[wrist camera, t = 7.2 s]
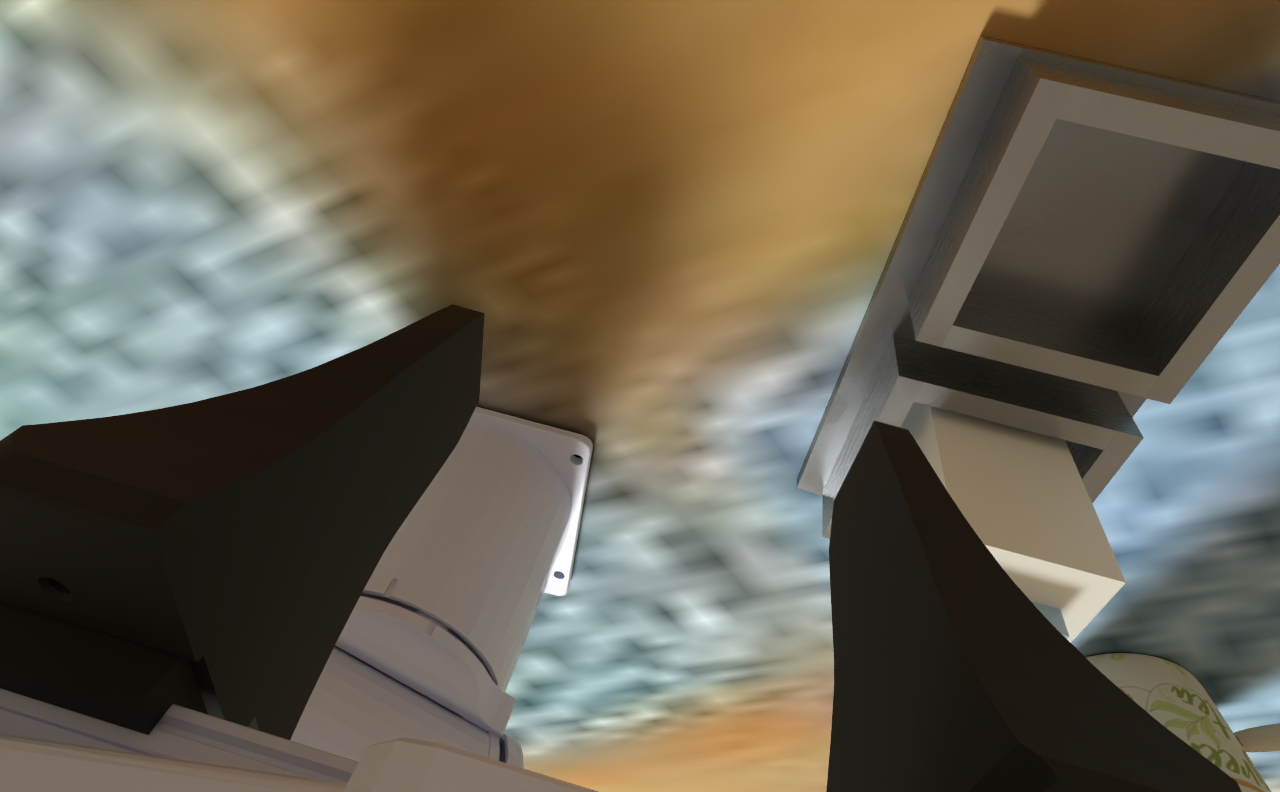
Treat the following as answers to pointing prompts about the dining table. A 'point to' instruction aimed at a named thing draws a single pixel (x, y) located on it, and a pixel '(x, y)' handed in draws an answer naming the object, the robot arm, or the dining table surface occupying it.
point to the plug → (1024, 510)
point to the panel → (1062, 258)
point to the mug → (1190, 713)
